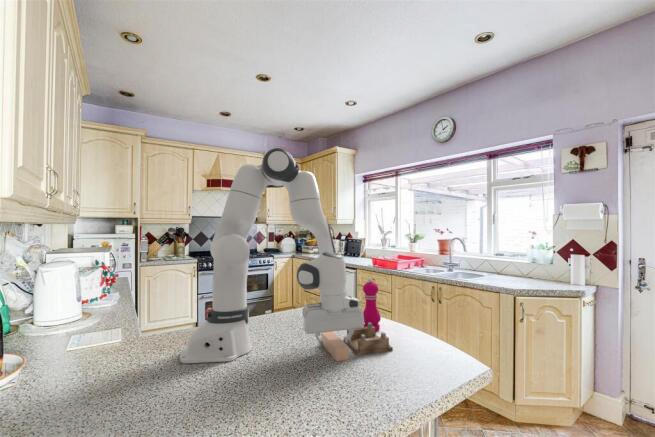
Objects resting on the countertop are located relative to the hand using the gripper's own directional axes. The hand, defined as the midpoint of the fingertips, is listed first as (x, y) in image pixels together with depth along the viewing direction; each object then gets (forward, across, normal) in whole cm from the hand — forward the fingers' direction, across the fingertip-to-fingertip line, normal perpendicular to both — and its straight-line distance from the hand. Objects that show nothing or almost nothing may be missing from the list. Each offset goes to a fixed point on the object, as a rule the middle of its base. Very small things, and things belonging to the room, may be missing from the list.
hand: (334, 344), depth 104 cm
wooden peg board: (+2, +12, +1) cm, 12 cm away
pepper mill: (+2, +20, +16) cm, 25 cm away
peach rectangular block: (+2, 0, 0) cm, 2 cm away
